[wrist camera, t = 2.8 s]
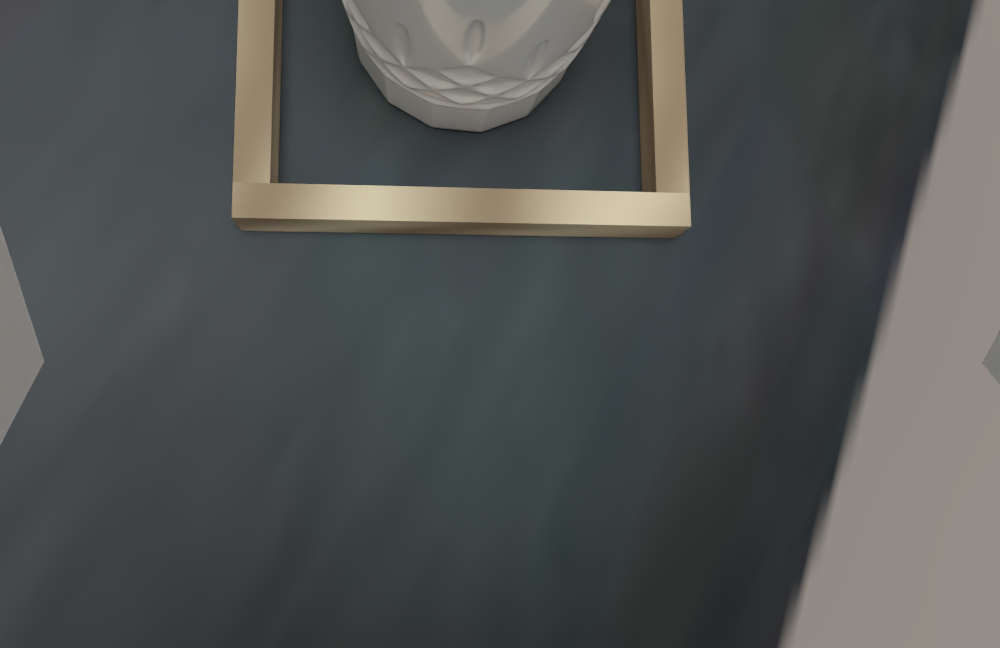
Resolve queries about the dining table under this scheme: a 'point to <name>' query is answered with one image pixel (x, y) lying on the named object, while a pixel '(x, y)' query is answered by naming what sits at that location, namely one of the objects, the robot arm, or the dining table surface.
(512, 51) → the white cup
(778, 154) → the dining table surface
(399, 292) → the dining table surface
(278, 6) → the tan flat square frame
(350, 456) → the dining table surface
